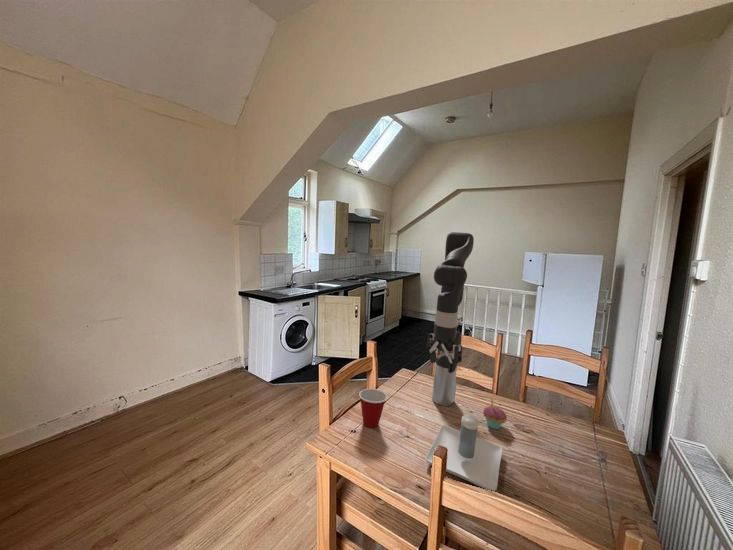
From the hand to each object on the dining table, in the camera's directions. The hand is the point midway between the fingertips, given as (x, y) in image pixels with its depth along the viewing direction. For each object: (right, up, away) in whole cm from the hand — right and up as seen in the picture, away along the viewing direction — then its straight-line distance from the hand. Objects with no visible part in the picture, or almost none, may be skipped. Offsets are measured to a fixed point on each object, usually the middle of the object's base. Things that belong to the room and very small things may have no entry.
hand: (441, 367), depth 104 cm
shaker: (+6, -26, -7) cm, 27 cm away
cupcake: (+24, -27, +13) cm, 39 cm away
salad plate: (+6, -29, -7) cm, 31 cm away
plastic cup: (-25, -25, +9) cm, 36 cm away
